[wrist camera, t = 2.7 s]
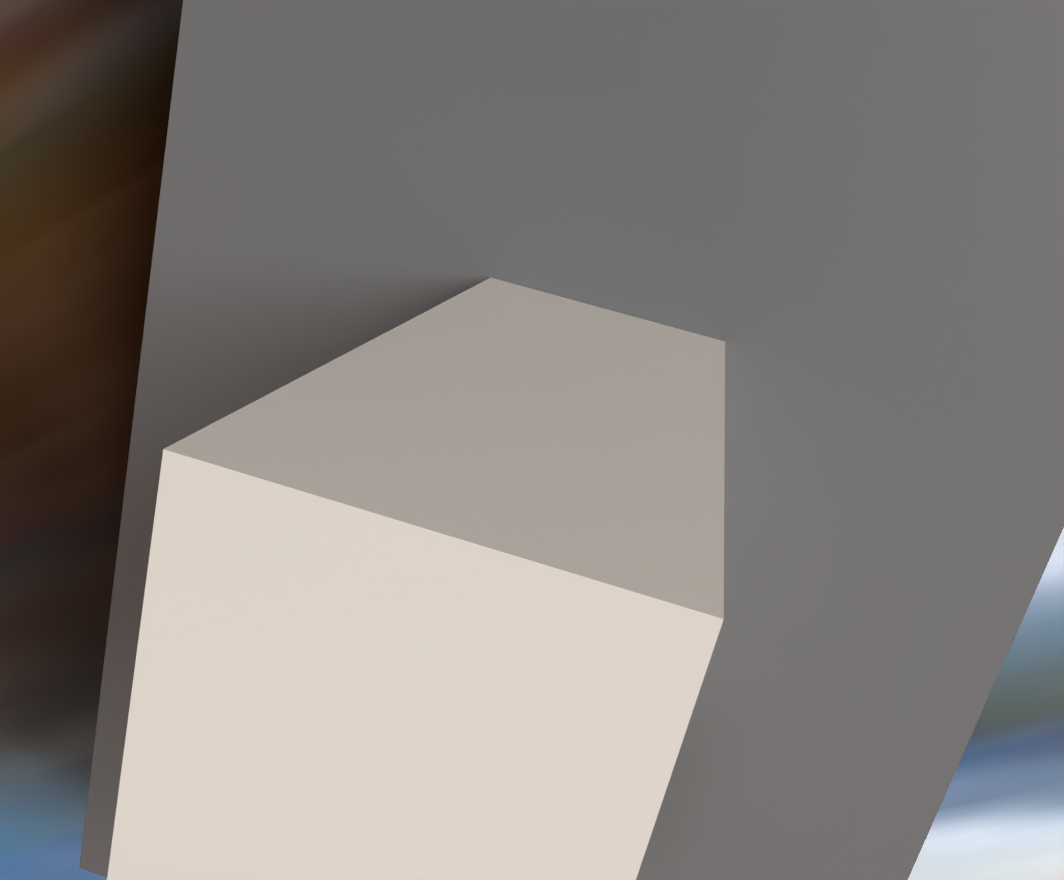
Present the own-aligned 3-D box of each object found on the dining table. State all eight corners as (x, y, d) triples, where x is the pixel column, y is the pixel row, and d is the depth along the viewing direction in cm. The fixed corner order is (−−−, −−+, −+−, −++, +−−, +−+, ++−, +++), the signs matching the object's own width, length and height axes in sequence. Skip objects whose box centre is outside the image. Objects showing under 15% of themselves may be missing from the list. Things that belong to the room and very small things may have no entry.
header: (337, -239, 17) (224, -353, 13) (1194, -50, 15) (1347, -117, 12) (185, 749, 23) (79, 867, 19) (787, 952, 21) (799, 1122, 18)
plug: (536, 253, 18) (164, 449, 6) (725, 304, 18) (724, 620, 6) (465, 549, 20) (71, 1144, 8) (635, 600, 20) (492, 1307, 8)
